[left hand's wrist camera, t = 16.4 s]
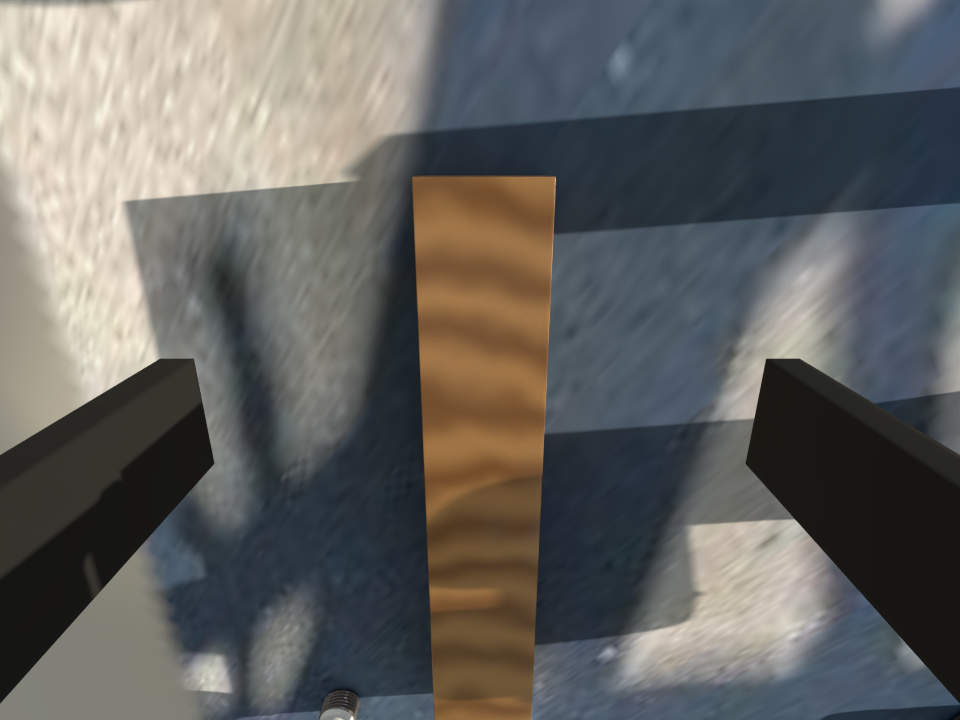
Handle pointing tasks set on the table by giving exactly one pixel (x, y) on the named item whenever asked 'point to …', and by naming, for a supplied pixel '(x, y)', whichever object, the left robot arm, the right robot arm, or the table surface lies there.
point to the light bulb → (340, 706)
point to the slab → (483, 429)
